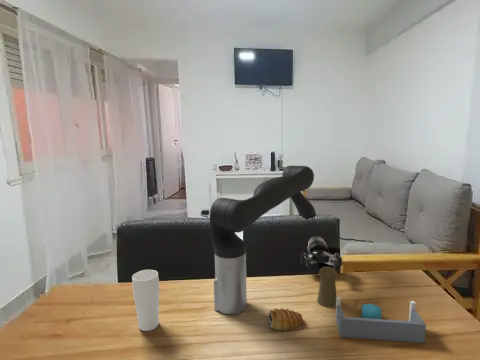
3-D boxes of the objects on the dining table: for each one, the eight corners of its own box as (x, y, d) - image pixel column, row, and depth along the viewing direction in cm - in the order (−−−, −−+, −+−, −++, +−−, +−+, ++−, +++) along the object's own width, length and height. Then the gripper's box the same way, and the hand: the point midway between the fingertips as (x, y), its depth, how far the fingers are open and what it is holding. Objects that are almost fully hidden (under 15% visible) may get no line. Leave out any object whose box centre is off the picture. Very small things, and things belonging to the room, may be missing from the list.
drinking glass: (138, 337, 78) (133, 283, 76) (134, 323, 84) (130, 272, 82) (164, 329, 81) (160, 277, 79) (158, 315, 87) (155, 267, 85)
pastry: (298, 314, 87) (298, 302, 86) (306, 330, 80) (306, 317, 80) (266, 317, 86) (266, 305, 85) (272, 333, 79) (272, 320, 78)
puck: (364, 323, 82) (364, 313, 82) (359, 312, 87) (360, 303, 87) (383, 324, 81) (384, 314, 81) (377, 313, 86) (378, 304, 86)
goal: (340, 336, 77) (341, 311, 76) (335, 320, 84) (336, 296, 83) (424, 343, 74) (426, 317, 73) (412, 325, 81) (414, 301, 80)
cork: (338, 308, 89) (339, 273, 87) (317, 306, 90) (318, 272, 89) (336, 297, 95) (337, 264, 93) (316, 295, 96) (317, 263, 94)
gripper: (299, 239, 118) (301, 255, 102) (336, 240, 116) (345, 257, 100) (299, 257, 119) (301, 276, 103) (336, 258, 117) (344, 278, 101)
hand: (323, 267), depth 102 cm, fingers open, 8 cm apart
